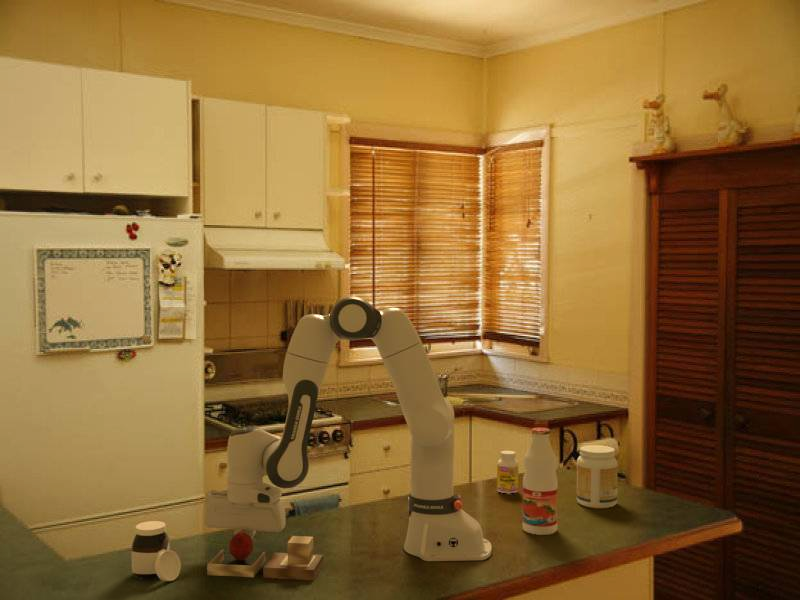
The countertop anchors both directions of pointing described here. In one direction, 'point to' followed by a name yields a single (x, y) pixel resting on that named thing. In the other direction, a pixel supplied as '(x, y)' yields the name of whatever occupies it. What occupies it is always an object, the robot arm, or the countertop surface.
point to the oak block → (300, 550)
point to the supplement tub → (597, 476)
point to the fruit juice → (540, 485)
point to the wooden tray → (267, 567)
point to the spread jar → (153, 553)
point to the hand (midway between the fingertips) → (244, 546)
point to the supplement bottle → (507, 473)
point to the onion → (241, 545)
